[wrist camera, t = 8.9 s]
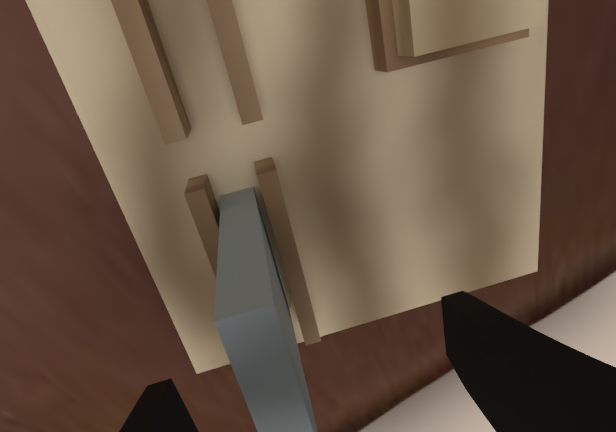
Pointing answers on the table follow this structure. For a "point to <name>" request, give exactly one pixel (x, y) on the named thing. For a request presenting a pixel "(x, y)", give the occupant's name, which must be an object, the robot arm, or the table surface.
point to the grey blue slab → (258, 320)
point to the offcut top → (459, 22)
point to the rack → (305, 152)
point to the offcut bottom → (389, 60)
